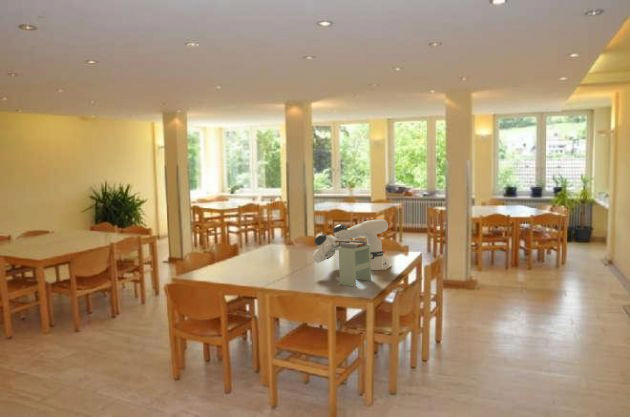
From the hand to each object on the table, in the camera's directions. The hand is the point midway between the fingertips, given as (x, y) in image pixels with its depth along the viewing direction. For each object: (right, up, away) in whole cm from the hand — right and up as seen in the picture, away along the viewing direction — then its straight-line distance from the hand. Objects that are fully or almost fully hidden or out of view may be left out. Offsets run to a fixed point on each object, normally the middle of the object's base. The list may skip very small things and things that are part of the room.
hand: (341, 242), depth 365 cm
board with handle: (+4, -2, -3) cm, 6 cm away
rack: (+10, -28, -3) cm, 30 cm away
